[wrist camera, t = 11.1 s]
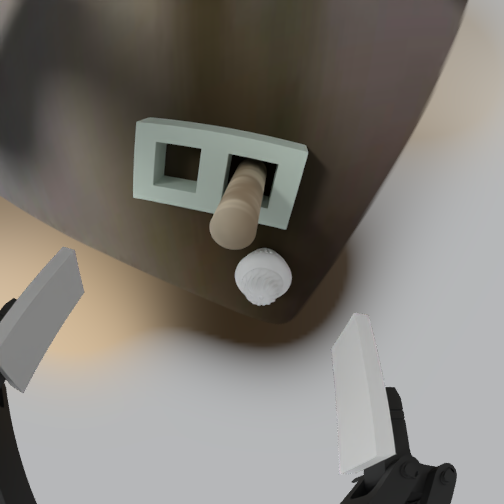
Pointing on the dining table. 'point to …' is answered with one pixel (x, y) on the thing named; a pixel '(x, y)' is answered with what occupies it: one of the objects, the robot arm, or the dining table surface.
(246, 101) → the dining table surface
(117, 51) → the dining table surface
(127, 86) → the dining table surface
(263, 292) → the muffin
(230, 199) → the peg
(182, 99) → the dining table surface
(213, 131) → the hole block
